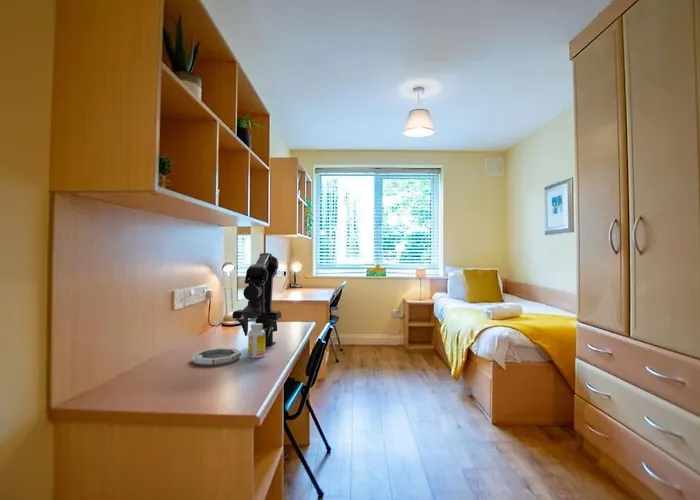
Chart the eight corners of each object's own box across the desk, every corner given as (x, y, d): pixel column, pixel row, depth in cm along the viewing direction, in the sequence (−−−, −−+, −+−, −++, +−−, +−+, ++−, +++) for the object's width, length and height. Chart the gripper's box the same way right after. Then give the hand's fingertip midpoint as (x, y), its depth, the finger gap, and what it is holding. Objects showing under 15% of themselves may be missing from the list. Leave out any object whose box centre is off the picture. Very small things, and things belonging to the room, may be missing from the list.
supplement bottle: (267, 354, 156) (267, 322, 156) (262, 358, 149) (262, 325, 149) (251, 353, 156) (251, 322, 156) (245, 358, 150) (245, 325, 150)
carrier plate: (208, 353, 157) (208, 347, 157) (247, 355, 154) (247, 349, 154) (183, 365, 140) (183, 358, 140) (225, 367, 137) (225, 360, 137)
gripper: (225, 299, 147) (225, 339, 147) (271, 300, 143) (271, 341, 143) (239, 296, 158) (239, 333, 158) (281, 297, 154) (281, 335, 154)
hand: (256, 336), depth 153 cm, fingers open, 9 cm apart
